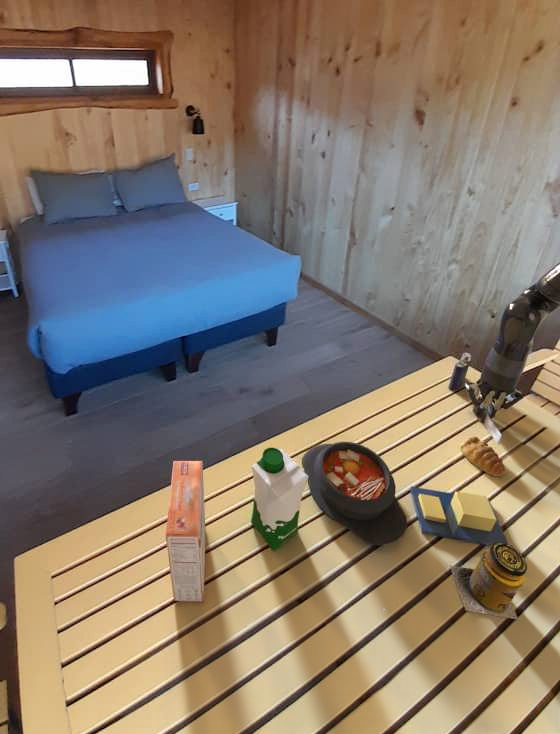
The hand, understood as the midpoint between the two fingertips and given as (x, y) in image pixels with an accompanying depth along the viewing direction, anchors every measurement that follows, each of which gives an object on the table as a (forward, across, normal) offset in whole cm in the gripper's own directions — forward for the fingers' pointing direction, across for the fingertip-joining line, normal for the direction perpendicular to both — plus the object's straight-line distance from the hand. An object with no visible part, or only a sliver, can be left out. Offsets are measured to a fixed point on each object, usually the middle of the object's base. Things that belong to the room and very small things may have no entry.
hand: (482, 416), depth 108 cm
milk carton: (+2, -54, -40) cm, 67 cm away
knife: (+1, 0, -3) cm, 3 cm away
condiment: (+2, -16, -44) cm, 47 cm away
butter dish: (+2, -15, -30) cm, 34 cm away
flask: (+2, -2, +14) cm, 15 cm away
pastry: (+2, -5, -13) cm, 14 cm away
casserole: (+2, -38, -29) cm, 48 cm away
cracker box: (+2, -70, -50) cm, 86 cm away
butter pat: (0, -19, -30) cm, 36 cm away
